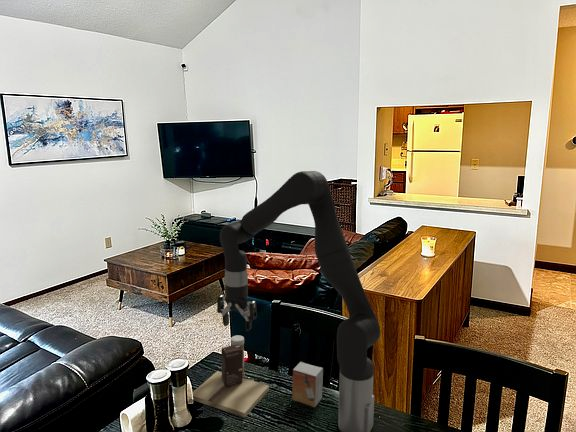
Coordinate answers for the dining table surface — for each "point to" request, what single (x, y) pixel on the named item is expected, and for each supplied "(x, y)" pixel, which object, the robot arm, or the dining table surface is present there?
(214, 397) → the plywood panel
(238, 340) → the sprinkles bottle
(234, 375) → the box
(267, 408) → the dining table surface
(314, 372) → the small box
